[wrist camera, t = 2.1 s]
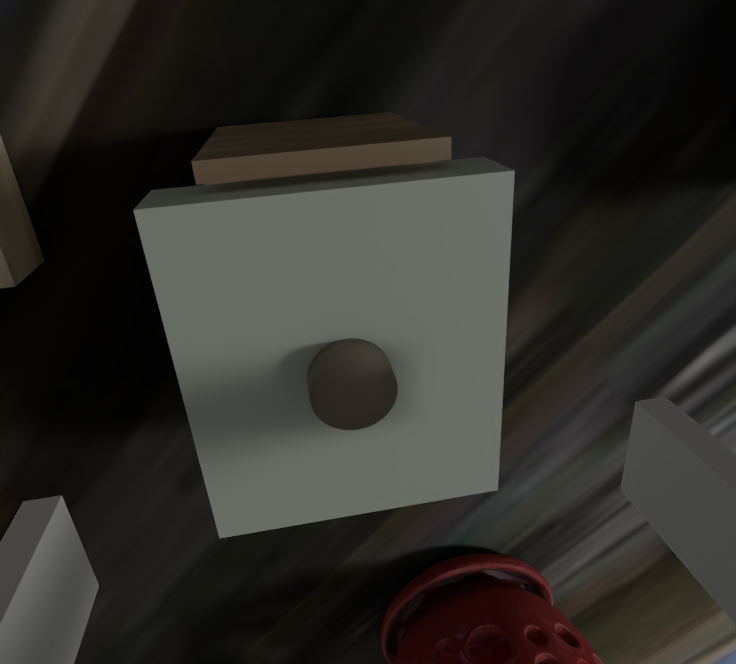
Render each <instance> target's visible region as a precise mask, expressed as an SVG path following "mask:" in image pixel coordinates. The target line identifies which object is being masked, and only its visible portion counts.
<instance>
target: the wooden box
mask: <svg viewBox="0 0 736 664" xmlns="http://www.w3.org/2000/svg"><path fill="white" fill-rule="evenodd" d="M448 159H451V136H448V135H446V134H443V133H441V132H438V131H436V130H433V129H431V128H428V127H426V126H423V125H421V124H418V123H416V122H414V121H411V120H409V119H406V118H404V117H401V116H399V115H396V114H394V113H391V112H385V113H374V114H362V115H351V116H340V117H328V118H317V119H306V120H294V121H283V122H272V123H260V124H249V125H238V126H226V127H218V128H217V129H216V130H215V131H214V133H213V134H212V135H211V137H210V138H209V139H208V140H207V142H206V143H205V144H204V146H203V147H202V148H201V149H200V151H199V152H198V153H197V155H196V156H195V157H194V158H193V160H192V161H191V162H192V167H193V172H194V177H195V182H196V185H197V184H204V185H208V184H218V183H228V182H238V181H248V180H258V179H268V178H278V177H288V176H298V175H308V174H318V173H328V172H338V171H348V170H358V169H368V168H378V167H388V166H398V165H408V164H418V163H428V162H437V161H438V160H448Z"/></svg>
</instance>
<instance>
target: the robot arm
mask: <svg viewBox="0 0 736 664" xmlns="http://www.w3.org/2000/svg"><path fill="white" fill-rule="evenodd" d="M620 490H621V491H622V492H623V493H624V494H625V496H626V497H627V498H628V499H629V500H630V502H631V503H632V504H633V505H634V506H635V507H636V509H637V510H638V511H639V512H640V513H641V514H642V516H643V517H644V518H645V519H646V520H647V521H648V523H649V524H650V525H651V526H652V527H653V529H654V530H655V531H656V532H657V533H658V534H659V536H660V537H661V538H662V539H663V540H664V541H665V543H666V544H667V545H668V546H669V547H670V549H671V550H672V551H673V552H674V553H675V554H676V556H677V557H678V558H679V559H680V560H681V561H682V563H683V564H684V565H685V566H686V567H687V568H688V570H689V571H690V572H691V573H692V574H693V576H694V577H695V578H696V579H697V580H698V581H699V583H700V584H701V585H702V586H703V587H704V588H705V590H706V591H707V592H708V593H709V594H710V596H711V597H712V598H713V599H714V600H715V601H716V603H717V604H718V605H719V606H720V607H721V608H722V610H723V611H724V612H725V613H726V614H727V615H728V617H729V618H730V619H731V620H732V621H733V623H734V624H735V625H736V454H735V453H734V452H732V451H731V450H730V449H729V448H728V447H726V446H725V445H724V444H723V443H721V442H720V441H719V440H718V439H716V438H715V437H714V436H713V435H712V434H710V433H709V432H708V431H707V430H705V429H704V428H703V427H702V426H700V425H699V424H698V423H697V422H695V421H694V420H693V419H692V418H691V417H689V416H688V415H687V414H686V413H684V412H683V411H682V410H681V409H679V408H678V407H677V406H676V405H675V404H673V403H672V402H671V401H670V400H668V399H667V398H666V397H660V398H654V399H648V400H642V401H636V403H635V408H634V414H633V420H632V426H631V431H630V437H629V443H628V449H627V454H626V460H625V466H624V472H623V477H622V483H621V489H620ZM98 587H99V584H98V582H97V580H96V577H95V575H94V572H93V570H92V568H91V565H90V563H89V560H88V558H87V555H86V553H85V551H84V548H83V546H82V543H81V541H80V539H79V536H78V534H77V531H76V529H75V526H74V524H73V522H72V519H71V517H70V514H69V512H68V509H67V507H66V505H65V502H64V500H63V497H62V495H61V496H55V497H49V498H43V499H37V500H31V501H25V502H23V503H22V505H21V507H20V508H19V510H18V512H17V514H16V516H15V517H14V519H13V521H12V523H11V524H10V526H9V528H8V530H7V532H6V533H5V535H4V537H3V539H2V541H1V542H0V664H74V662H75V659H76V655H77V652H78V649H79V646H80V643H81V640H82V637H83V634H84V631H85V628H86V624H87V621H88V618H89V615H90V612H91V609H92V606H93V603H94V600H95V596H96V593H97V590H98Z"/></svg>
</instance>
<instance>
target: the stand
mask: <svg viewBox="0 0 736 664" xmlns="http://www.w3.org/2000/svg"><path fill="white" fill-rule="evenodd" d="M44 261H45V260H44V257H43V254H42V251H41V249H40V246H39V243H38V240H37V237H36V234H35V232H34V229H33V226H32V223H31V220H30V217H29V215H28V212H27V209H26V206H25V203H24V200H23V197H22V195H21V192H20V189H19V186H18V183H17V180H16V178H15V175H14V172H13V169H12V166H11V163H10V161H9V158H8V155H7V152H6V149H5V146H4V143H3V141H2V138H1V135H0V288H7V287H16V286H17V285H18V284H19V283H20V282H21V281H22V280H23V279H25V278H26V277H27V276H28V275H29V274H30V273H31V272H32V271H34V270H35V269H36V268H37V267H38V266H39V265H40V264H41V263H43V262H44Z"/></svg>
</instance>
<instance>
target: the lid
mask: <svg viewBox="0 0 736 664" xmlns="http://www.w3.org/2000/svg"><path fill="white" fill-rule="evenodd" d="M514 172H515V170H512V169H510V168H508V167H505V166H503V165H501V164H499V163H496V162H494V161H492V160H489V159H487V158H485V157H478V158H468V159H458V160H448V161H438V162H428V163H418V164H408V165H398V166H388V167H378V168H368V169H358V170H348V171H338V172H328V173H318V174H308V175H298V176H288V177H278V178H268V179H258V180H248V181H238V182H228V183H218V184H208V185H198V186H188V187H178V188H168V189H158V190H151V191H150V192H149V193H148V194H147V195H146V196H145V198H144V199H143V200H142V201H141V202H140V203H139V204H138V205H137V206H136V207H135V209H134V210H133V211H134V215H135V219H136V223H137V226H138V230H139V234H140V238H141V242H142V245H143V249H144V253H145V257H146V261H147V264H148V268H149V272H150V276H151V280H152V283H153V287H154V291H155V295H156V299H157V302H158V306H159V310H160V314H161V317H162V321H163V325H164V329H165V333H166V336H167V340H168V344H169V348H170V352H171V355H172V359H173V363H174V367H175V371H176V374H177V378H178V382H179V386H180V390H181V393H182V397H183V401H184V405H185V409H186V412H187V416H188V420H189V424H190V428H191V431H192V435H193V439H194V443H195V447H196V450H197V454H198V458H199V462H200V466H201V469H202V473H203V477H204V481H205V485H206V488H207V492H208V496H209V500H210V504H211V507H212V511H213V515H214V519H215V523H216V526H217V530H218V534H219V538H224V537H230V536H236V535H242V534H247V533H253V532H259V531H265V530H270V529H276V528H282V527H288V526H293V525H299V524H305V523H311V522H317V521H322V520H328V519H334V518H340V517H345V516H351V515H357V514H363V513H368V512H374V511H380V510H386V509H391V508H397V507H403V506H409V505H414V504H420V503H426V502H432V501H438V500H443V499H449V498H455V497H461V496H466V495H472V494H478V493H484V492H489V491H495V490H498V478H499V459H500V440H501V421H502V401H503V382H504V363H505V344H506V325H507V306H508V287H509V268H510V248H511V229H512V210H513V191H514Z"/></svg>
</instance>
